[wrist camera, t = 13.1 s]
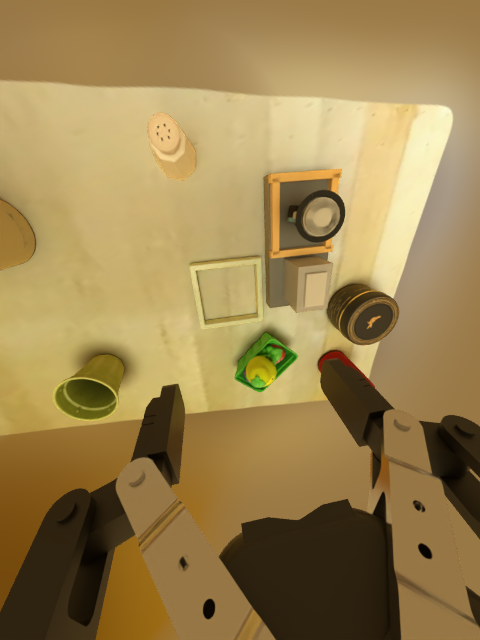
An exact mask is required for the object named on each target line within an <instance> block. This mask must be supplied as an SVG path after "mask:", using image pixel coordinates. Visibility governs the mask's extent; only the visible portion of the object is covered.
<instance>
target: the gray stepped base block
mask: <svg viewBox="0 0 480 640" xmlns="http://www.w3.org/2000/svg"><path fill="white" fill-rule="evenodd" d="M341 174H342V169H331V170H317V171H304V172H290V173H277V174H270V175H268V176H266V177H264V210H265V257H266V303H267V304H268V306H269V307H270V308H274V307H281V306H288V305H290V306H291V307H292V308H293V310H294V311H295V312H296V313H298V312H306V311H313V310H320V309H327V307H328V299H329V291H330V283H331V274H332V266H333V263H331V262H329V261H327V259H328V252H332V249H333V245H332V238H330V239H329V240H327V241H324V242H320V243H314V242H310V241H307V240H305V239H304V238H303V237H302V236H301V235H300V234H299V232H298V230H297V227H296V225H295V223H296V222H289V221H287V218H288V213H289V207H290V205H297V206H299V205H300V204H301V202H302V201H303V200H304V199H305V198H306V197H307V196H308V195H310V194H311V193H313V192H316V191H319V190H330V191H333V192H335V193H336V194H338V185H339V178H341ZM318 198H321V197H316V198H314V199H313V200H311V201H310V202H309V203H308V204H310V203H311V202H312V201H314V200H315V199H318ZM304 231H305V232H306V233H307V234H308V235H310V236H313V235H311V234H309V233H308V232H307V231H306V230H305V229H304Z"/></svg>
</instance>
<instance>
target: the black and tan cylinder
mask: <svg viewBox="0 0 480 640" xmlns="http://www.w3.org/2000/svg"><path fill="white" fill-rule="evenodd" d="M316 197H321V198H318V199H315V200H314V201H312V202H311V203H310V204H308V203H309V202H310V201H311V200H313V199H314V198H316ZM344 218H345V206H344V203H343V201H342V199H341V198H340V196H339V195H338V194H336V193H335V192H333V191H330V190H319V191H316V192H313V193H311V194H310V195H308V196H307V197H306V198H305V199H304V200H303V201H302V202H301V204H300V205H299V206H297V205H290V207H289V213H288V218H287V221H289V222H296V223H295V225H296V227H297V230H298V232H299V234H300V235H301V236H302V237H303V238H304V239H305V240H307V241H310V242H314V243H320V242H324V241H327V240H329V239H330V238H332V237H333V236H334V235H335V234H336V233H337V232H338V231H339V230H340V228H341V226H342V224H343V222H344ZM304 229H305V230H306V231H307V232H308V233H309V234H311V235H313V236H310V235H308V234H307V233H306V232H305V231H304Z"/></svg>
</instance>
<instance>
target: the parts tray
mask: <svg viewBox="0 0 480 640" xmlns="http://www.w3.org/2000/svg"><path fill="white" fill-rule="evenodd" d="M250 264H254V268H255V290H256V312H257V314H249V315H242V316H235V317H227V318H220V319H213V320H205V319H204V314H203V308H202V302H201V296H200V290H199V285H198V279H197V273H196V271H197V270H206V269H215V268H223V267H232V266H241V265H250ZM189 267H190V273H191V278H192V283H193V289H194V294H195V300H196V305H197V310H198V316H199V321H200V326H201V329H208V328H216V327H223V326H230V325H237V324H244V323H251V322H258V321H263V305H262V272H261V258H260V257H259V256H255V257H246V258H237V259H228V260H219V261H210V262H201V263H192V264H190V265H189Z"/></svg>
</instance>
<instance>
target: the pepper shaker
mask: <svg viewBox="0 0 480 640" xmlns="http://www.w3.org/2000/svg"><path fill="white" fill-rule="evenodd" d="M148 135H149V138H150V147H151V150H152V152H153V155H154V157H155V159H156V162H157V164H158V165H159V166H160V167H161V169H162V170H163V171H164V173H165V174H166V175H167V177H168V178H173V179H178V180H183V181H184V180H185V179H186V178H187V177H188V176H189V175H190V174H191V173H193V172H194V171H195V159H196V151H195V150H194V148H193V147H192V145H191V143H190V142H189V140H188V139H187V137H186V136H185V134H184V133H183V131H182V130H181V128H180V127H179V125H178V124H177V122H176V121H175V120H173V119H172V118H171V117H170V116H169V115H167V114H164V113H157V114H155V115H153V116H152V117H151V118H150V120H149V122H148Z"/></svg>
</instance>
